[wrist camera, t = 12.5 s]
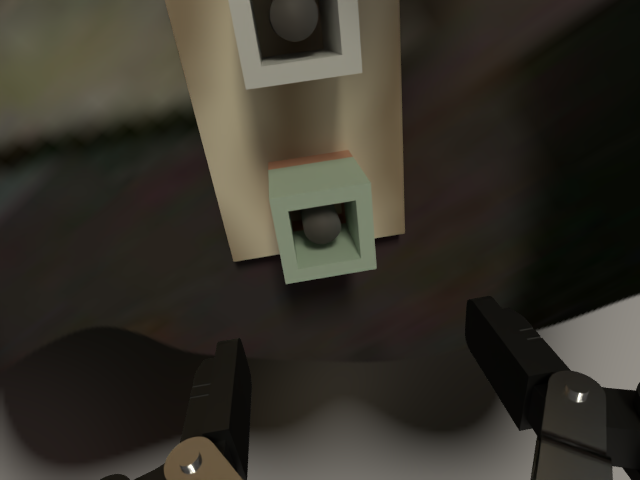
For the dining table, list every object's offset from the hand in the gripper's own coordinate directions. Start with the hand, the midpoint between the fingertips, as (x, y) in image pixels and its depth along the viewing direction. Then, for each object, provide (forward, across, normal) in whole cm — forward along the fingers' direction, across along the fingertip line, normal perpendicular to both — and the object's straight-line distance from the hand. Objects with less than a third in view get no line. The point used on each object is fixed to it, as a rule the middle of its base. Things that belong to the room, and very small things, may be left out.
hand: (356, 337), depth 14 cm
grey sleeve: (+14, 0, -10) cm, 17 cm away
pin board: (+15, 0, -5) cm, 16 cm away
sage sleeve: (+14, 0, 0) cm, 14 cm away
